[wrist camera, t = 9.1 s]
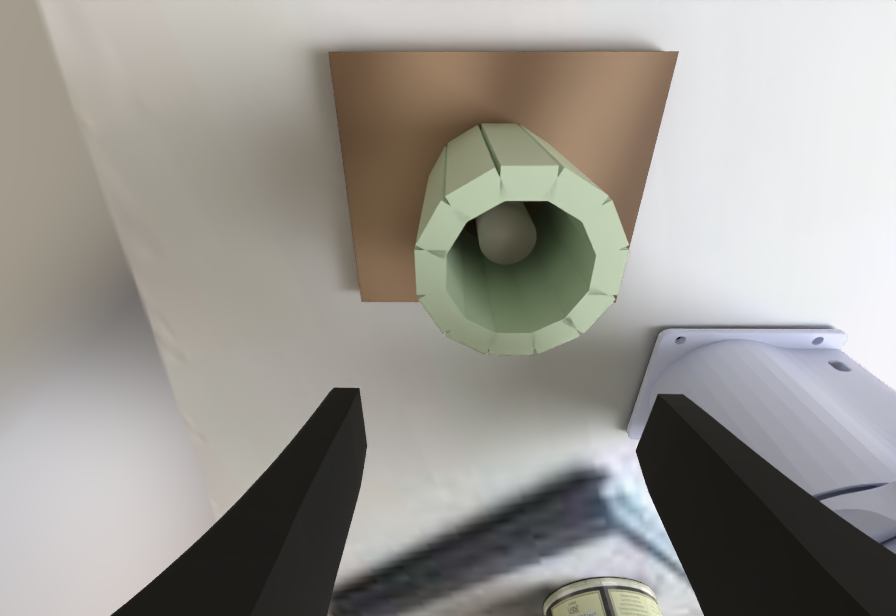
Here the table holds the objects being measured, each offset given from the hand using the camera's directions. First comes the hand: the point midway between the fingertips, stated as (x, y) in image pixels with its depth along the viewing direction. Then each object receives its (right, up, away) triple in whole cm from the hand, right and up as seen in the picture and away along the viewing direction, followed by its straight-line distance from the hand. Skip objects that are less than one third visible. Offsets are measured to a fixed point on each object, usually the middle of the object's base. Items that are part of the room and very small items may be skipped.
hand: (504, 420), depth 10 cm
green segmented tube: (0, +7, +6) cm, 10 cm away
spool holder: (0, +8, +7) cm, 11 cm away
